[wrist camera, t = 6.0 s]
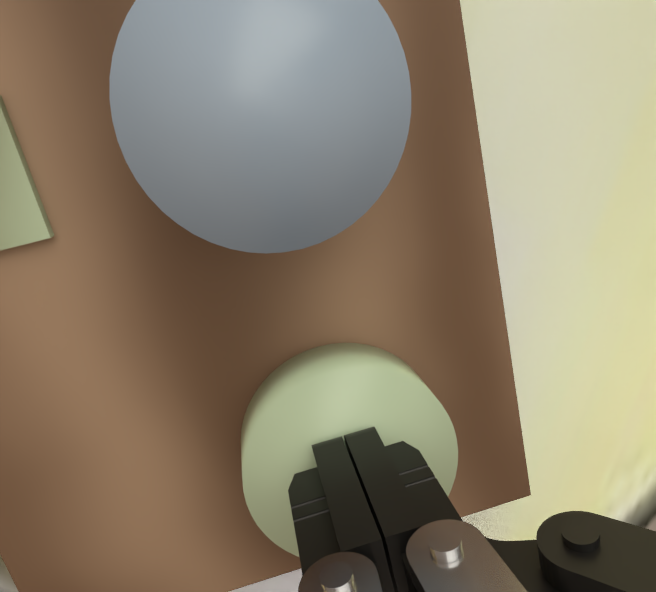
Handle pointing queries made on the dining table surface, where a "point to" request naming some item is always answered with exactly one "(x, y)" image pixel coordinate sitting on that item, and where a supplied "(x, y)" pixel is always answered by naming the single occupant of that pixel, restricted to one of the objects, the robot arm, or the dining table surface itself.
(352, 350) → the button sage
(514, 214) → the dining table surface
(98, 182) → the console
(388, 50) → the button slate
